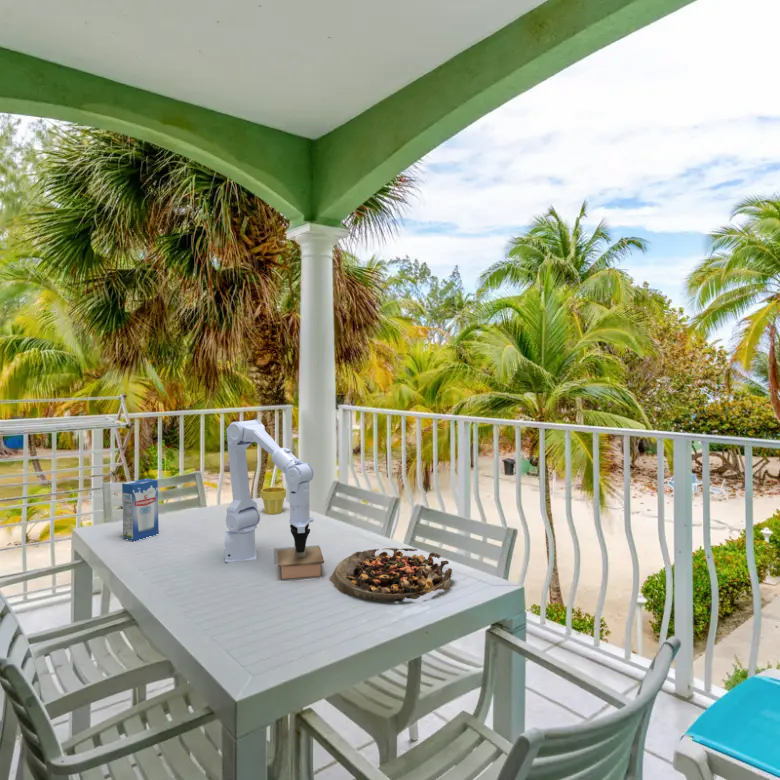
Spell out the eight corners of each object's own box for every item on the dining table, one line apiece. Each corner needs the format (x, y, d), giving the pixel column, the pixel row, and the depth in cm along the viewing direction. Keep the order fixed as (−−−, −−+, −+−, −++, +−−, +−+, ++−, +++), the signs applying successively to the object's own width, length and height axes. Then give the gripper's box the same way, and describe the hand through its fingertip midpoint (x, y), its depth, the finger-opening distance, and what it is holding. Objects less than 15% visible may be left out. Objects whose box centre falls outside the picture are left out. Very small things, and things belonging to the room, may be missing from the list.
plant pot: (290, 513, 232) (289, 490, 232) (266, 516, 227) (265, 493, 226) (280, 508, 241) (280, 485, 240) (257, 511, 235) (257, 488, 235)
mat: (274, 565, 171) (274, 563, 171) (273, 549, 185) (273, 548, 185) (323, 561, 174) (323, 560, 174) (318, 546, 188) (318, 545, 188)
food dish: (469, 576, 165) (470, 550, 164) (417, 622, 136) (418, 591, 136) (369, 552, 183) (370, 529, 182) (305, 589, 154) (305, 561, 154)
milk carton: (133, 541, 194) (132, 485, 193) (123, 539, 198) (121, 483, 197) (158, 534, 203) (157, 480, 202) (148, 532, 206) (147, 478, 205)
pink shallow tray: (281, 580, 158) (281, 566, 158) (281, 567, 169) (280, 554, 169) (320, 577, 161) (320, 563, 161) (317, 564, 171) (317, 551, 171)
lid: (278, 567, 157) (277, 549, 157) (277, 552, 170) (276, 535, 169) (324, 563, 160) (323, 545, 160) (320, 548, 172) (319, 532, 172)
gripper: (315, 510, 158) (315, 557, 158) (311, 498, 172) (311, 541, 173) (290, 511, 156) (290, 559, 157) (288, 499, 170) (288, 543, 171)
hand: (300, 550), depth 165 cm, fingers closed on lid, 3 cm apart
